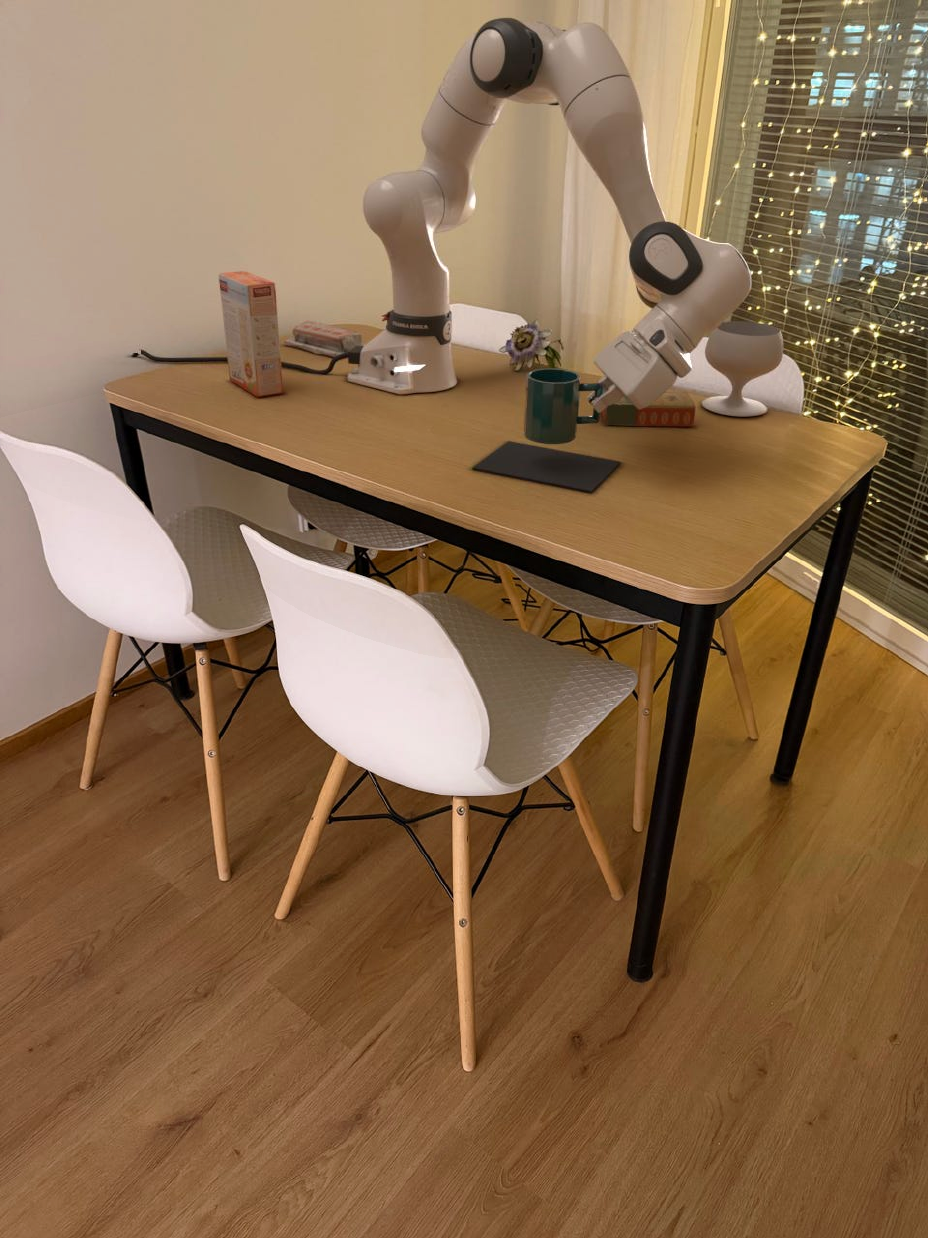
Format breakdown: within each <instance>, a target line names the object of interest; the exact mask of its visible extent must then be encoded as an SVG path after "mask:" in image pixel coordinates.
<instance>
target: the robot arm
mask: <svg viewBox="0 0 928 1238" xmlns="http://www.w3.org/2000/svg"><path fill="white" fill-rule="evenodd" d="M508 101H511V102H516V103H520V104H524V105H525V104H526V105H533V104H534V105H535V104H537V105H549V106H559V108H560V110H561V113H562V115H563V118H564V121H565V124H566V126H567V128H568V130H569V133H570V135H571V137H572V139H573V140H574V142H575V144H576V146H577V147H578V149H579V151H580V153H581V154H582V155H583V158H584V159H585V160H586V161H587V163H588V164H589V167H591V169H592V171H593V172H594V173H595V175H596V176H597V177H598V179H599V180H600V182H601V184H602V185H603V186H604V188H605V189H606V190H607V192H608V194H609V195H610V197H611V199H612V201H613V202H614V205H615V207H616V209H617V211H618V214H619V216H620V219H621V222H622V224H623V226H624V230H625V231H626V234H627V237H628V239H629V242H630V247H629V252H628V261H629V268H630V272H631V274H632V278H633V280H634V283H635V289H636V292H637V295H638V297H639V299H640V300H641V302H642V303H643V304H645V306H646V307H648V308H650V310H649V312H647V313H646V314H645V315H644V316H643V317H642V318H641V319H639V321H638V322H637V323H636V324H635V325H634V326H633V327H632V330H631V331H630V330H627V331H624V332H622V333H621V334H619V335H618V336H617V337H615V338H614V339H613V340H612V341H611V342H609V344H608V345H606V346H605V347H604V348H603V349H601V351H599V352H598V353H597V355H596V356H595V357H594V360H593V364H595V366H596V367H597V368H598V370H599V371H600V372H602V374H603V376H602V377H601V378H600V379H599V381H598V382H597V383H601V384H602V385H603V393H602V395H601V396H600V397H599V396H597V397H596V398H595V399H594V395H595V391H591V393H590V394H589V395H588V396H586V401H587V402H588V403H589V404H590V405H591V407H592V409H593V408H594V409H595V410H596V411H597V412H598V413H601V412H602V411H603V410H604V409H605V408H606V407H607V406H609V405H611V404H613V403H615V402H617V401H619V400H620V399H621V398H622V397H623V396H624V395H625V396H626V397H627V398H628V399H629V400H630V401H631V403H632V404H633V405H634V406H635V407H636V408H637V409H639V410H640V409H643V408H645V407H647V406H649V405H650V404H652V403H653V402H654V401H655V400H657V399H658V398H659V397H660V396H661V395H662V394H663V393H665V392H668V390H669V389H671V387H672V386H673V385H674V384H675V383H676V382H677V380H678V378H680V379H683V378H684V377H686V376H687V375H689V374H690V373H691V371H692V368H693V366H692V361H691V354H692V352H693V351H694V350H695V349H696V348H697V347H698V346H699V345H700V343H701V341H702V340H703V339H704V337H705V336H706V335H708V334H709V333H711V332H712V330H714V329H716V328H717V327H719V326H720V325H721V324H722V323H723V322H726V321H727V319H728V318H729V317H730V316H731V315H732V314H733V313H734V312H735V311H736V310H737V309H738V308H739V307H740V305H741V304H742V303H743V302H744V301H745V300H746V298H747V297H748V296H749V294H750V292H751V290H752V286H753V285H752V284H753V280H752V273H751V270H750V268H749V265H748V264H747V262H746V260H745V258H744V257H743V255H742V254H741V252H740V251H739V250H738V249H737V248H736V247H735V246H734V245H732V244H730V243H727V242H726V243H721V242H715V241H711V240H707V239H704V238H702V237H699V236H697V235H695V234H693V233H691V232H690V231H688V230H686V229H684V228H682V227H681V226H680V225H678V224H677V223H674V222H671V221H667V219H666V216H665V213H664V211H663V208H662V207H661V204H660V201H659V199H658V196H657V193H656V191H655V188H654V184H653V181H652V176H651V170H650V163H649V153H648V143H647V132H646V126H645V120H644V115H643V109H642V106H641V105H642V104H641V101H640V98H639V96H638V92H637V89H636V87H635V83H634V81H633V78H632V77H631V74H630V71H629V70H628V68H627V66H626V64H625V62H624V60H623V57H622V55H621V54H620V52H619V50H618V49H617V47H616V46H615V44H614V42H613V41H612V39H611V38H610V36H609V34H608V33H607V32H606V31H605V30H604V28H602V27H601V26H600V25H598V24H596V23H593V22H581V23H577V24H575V25H572V26H570V27H569V28H567V29H561V28H559V27H556V26H554V25H551V24H548V23H545V22H541V21H530V20H529V21H528V20H518V19H516V18H512V17H498V18H494V19H491V20H488V21H486V22H485V23H484V24H482V26H481V27H480V28H479V29H478V30H477V32H474V33H473V34H471V35H470V36H468V37H467V38H466V40H465V41H464V43H463V44H462V45H461V47H460V48H459V50H458V52H457V53H456V54H455V56H454V58H453V59H452V61H451V62H450V64H449V66H448V67H447V70H446V71H445V74H444V75H443V78H442V79H441V82H440V85H439V86H438V88H437V91H436V93H435V96H434V98H433V100H432V102H431V104H430V107H429V109H428V111H427V113H426V116H425V118H424V120H423V122H422V124H421V129H420V137H421V140H422V143H423V145H424V147H425V154H424V158H423V161H422V163H421V164H420V166H419V167H418V168H417V169H415V170H409V171H408V170H407V171H397V172H391V173H388V174H386V175H383V176H381V177H379V178H377V179H375V180H374V181H372V182H371V183H369V184H368V186H367V188H366V189H365V191H364V194H363V198H362V213H363V216H364V219H365V222H366V223H367V224H366V225H368V227H369V229H370V230H371V231H372V232H373V233H374V234H376V236H377V237H378V238H379V240H380V241H381V243H382V245H383V247H384V250H385V252H386V255H387V258H388V261H389V266H390V273H391V284H392V285H391V286H392V309H391V310H390V311H387V312H386V313H385V314H382V315H381V316H380V317H382V319H381V322H386V325H385V329H383V330H382V331H381V332H380V333H378V334H377V335H376V336H375V337H373V339H371V340H370V341H368V342H367V343H366V345H365V346H355V347H354V348H353V349H351V350H350V351H349V352H347V353H343V354H340V355H338V356H336V357H332V359H331V360H330V362H329V364H328V367H327V368H325V369H315V368H310V367H307V366H304V365H300V364H296V363H291V362H285V361H281V368H287V369H292V370H297V371H302V372H304V373H309V374H312V375H313V374H314V375H327V374H330V373H331V372H332V371H333V370H334V368H335V365H336V363H338V362H339V361H340V360H343V359H347V364H348V365H357V367H356V368H353V369H352V370H351V371H349V372H348V374H347V382H349V383H353V384H358V385H361V386H364V387H369V388H373V389H377V390H381V391H385V392H389V393H393V394H397V395H410V394H416V393H433V392H440V391H445V390H449V389H451V388H453V387H455V386H456V385H457V383H458V379H457V376H456V372H455V368H454V363H453V362H454V361H453V356H452V346H451V341H452V334H453V333H452V332H453V316H452V311H451V310H450V309H451V308H450V300H451V298H450V297H451V274H450V273H451V272H450V269H449V266H448V265H447V263H446V262H444V261H443V260H441V259H440V257H439V255H438V252H437V249H436V246H435V241H434V240H435V239H434V235H435V234H440V233H444V232H450V231H452V230H454V229H456V228H458V227H460V226H462V225H464V224H465V223H466V222H468V221H469V219H470V218H472V215H473V214H474V211H475V208H476V192H475V188H474V186H473V179H474V173H475V169H476V166H477V163H478V160H479V158H480V155H481V154H482V152H483V149H484V148H485V146H486V143H487V142H488V139H489V137H490V135H491V133H492V131H493V129H494V127H495V125H496V124H497V121H498V119H499V117H500V114H501V113H502V111H503V108H504V107H505V105H506V103H507V102H508ZM140 350H141V354H138V353H134V352H133V353H132V354H131V358H138V356H139V355H142V356H144V357H145V358H147V359H149V360H151V361H153V362H157V363H173V364H175V363H176V364H177V363H228V357H227V356H208V357H207V356H206V357H205V356H202V357H198V356H197V357H195V356H194V357H192V356H190V357H189V356H188V357H187V356H186V357H162V356H155V355H153V354H151V353H149V352H148V351H146V350H144V349H140Z"/></svg>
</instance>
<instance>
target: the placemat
mask: <svg viewBox="0 0 928 1238" xmlns="http://www.w3.org/2000/svg"><path fill="white" fill-rule="evenodd" d="M620 465H621V461H619V460H614V459H607V458H603V457H598V456H592V455H586V454H580V453H575V452H570V451H564V450H559V449H554V448H548V447H543V446H538V445H537V446H536V445H532V444H528V443H527V444H526V443H522V442H521V443H520V442H515V441H510V440H508V441H507V442H505V443H504V444H502V445H501V446H500V447H498V448H497V449H496V450H494V451H493V452H492V453H490V454H489V455H487V456H486V457H485V458H483V459H482V460H481V461H478V462H477V464H475V465H473V466H472V470H473V471H478V472H483V473H488V474H492V475H498V476H503V477H507V478H512V479H518V480H522V481H527V482H533V483H538V484H542V485H548V486H553V487H558V488H562V489H568V490H573V491H577V492H581V493H588V494H593V493H594V491H596V489H597V488H599V486H601V485H602V484H603V482H604V481H606V479H607V478H608V477H610V475H611V474H612V473H613V472H614V471H616V469H617V468H618V467H619V466H620Z"/></svg>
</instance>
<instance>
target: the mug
mask: <svg viewBox="0 0 928 1238" xmlns="http://www.w3.org/2000/svg"><path fill="white" fill-rule="evenodd" d="M525 379H526V380H525V396H524V397H525V398H524V415H523V437H525V439H527V440H529V441H530V442H534V443H538V444H543V445H562V444H563V445H564V444H567V443H570V442H573V441H574V440H575V439H576V437H577V433H578V425H594V424H595V425H596V424H599V423H600V422H601V415H602V414H601V413H598V412H597V411H596V410H595V409H594V408H593V407H592V415H579V409H580V397H581V396H580V395H581V392H593V391H595V395H594V399H595V398H596V397H597V396H599V397H600V396H601V395H602V393H603V385H602V384H601V383H598V382H581V381H582V376H581V374H579V373H578V372H575V371H574V370H573V371H572V370H569V369H563V368H556V369H553V368H539V369H534V370H531V371H528V372H527V374H526V375H525Z"/></svg>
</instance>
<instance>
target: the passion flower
mask: <svg viewBox="0 0 928 1238" xmlns="http://www.w3.org/2000/svg"><path fill="white" fill-rule="evenodd" d="M539 325H540V321H539V320H538V318H536V319H534V320H533V321H532V322H531V323H527V324H524V325H520V326H519V327H518V326H516V328H515V329H514V330H512V333H509V334H510V335H511V338H510V339H507V340H506V341H505V345H504V346H502V347H500V348H499V349H498V351H499V352H500V353H503V354H504V353H507V354H508V356H509V357H510V359H509V366H515V372H520V371H521V370H522V369H523V368H524V364H525V366H526V367H527V368H528V369H531V368H532V367H533V366H534V365H535V361H536V360H537V362H538V364H539V365H540V364H541V361H540V358H539V356H540V357H545V360H546V363H547V365H548V369H550V368H553V369H557V363H558V365H559V368H561V367H562V362H563V361H562V356H561V355H560V353H559V352H558V351H557V350H556V349H555V348H554V347H552V346H551V344H554V343H556V342H558V343H559V345H560V348H561V350H562V351H563V350H565V346H564V343H563V342H562V339H561V338H560V339H556V340H554V341H550V340H548V339H547V338H549V336H551V335H552V332H553V330H552V329H551V328H550V329H544V330H540V329H539ZM535 359H536V360H535Z"/></svg>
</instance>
